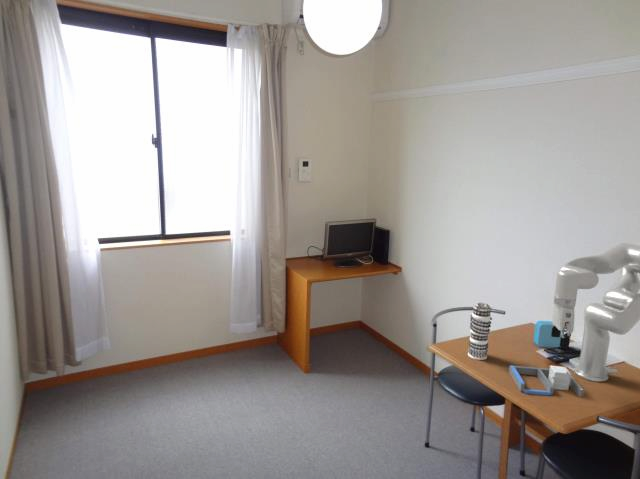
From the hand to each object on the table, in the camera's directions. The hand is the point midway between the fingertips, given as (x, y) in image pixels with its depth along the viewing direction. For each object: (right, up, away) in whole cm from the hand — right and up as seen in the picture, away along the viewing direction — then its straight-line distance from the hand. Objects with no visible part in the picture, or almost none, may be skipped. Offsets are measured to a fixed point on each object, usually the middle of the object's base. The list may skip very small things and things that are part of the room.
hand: (559, 341), depth 178 cm
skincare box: (+1, -19, +3) cm, 19 cm away
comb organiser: (-4, -18, +3) cm, 19 cm away
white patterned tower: (-23, -13, +28) cm, 39 cm away
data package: (+16, -12, +41) cm, 45 cm away
